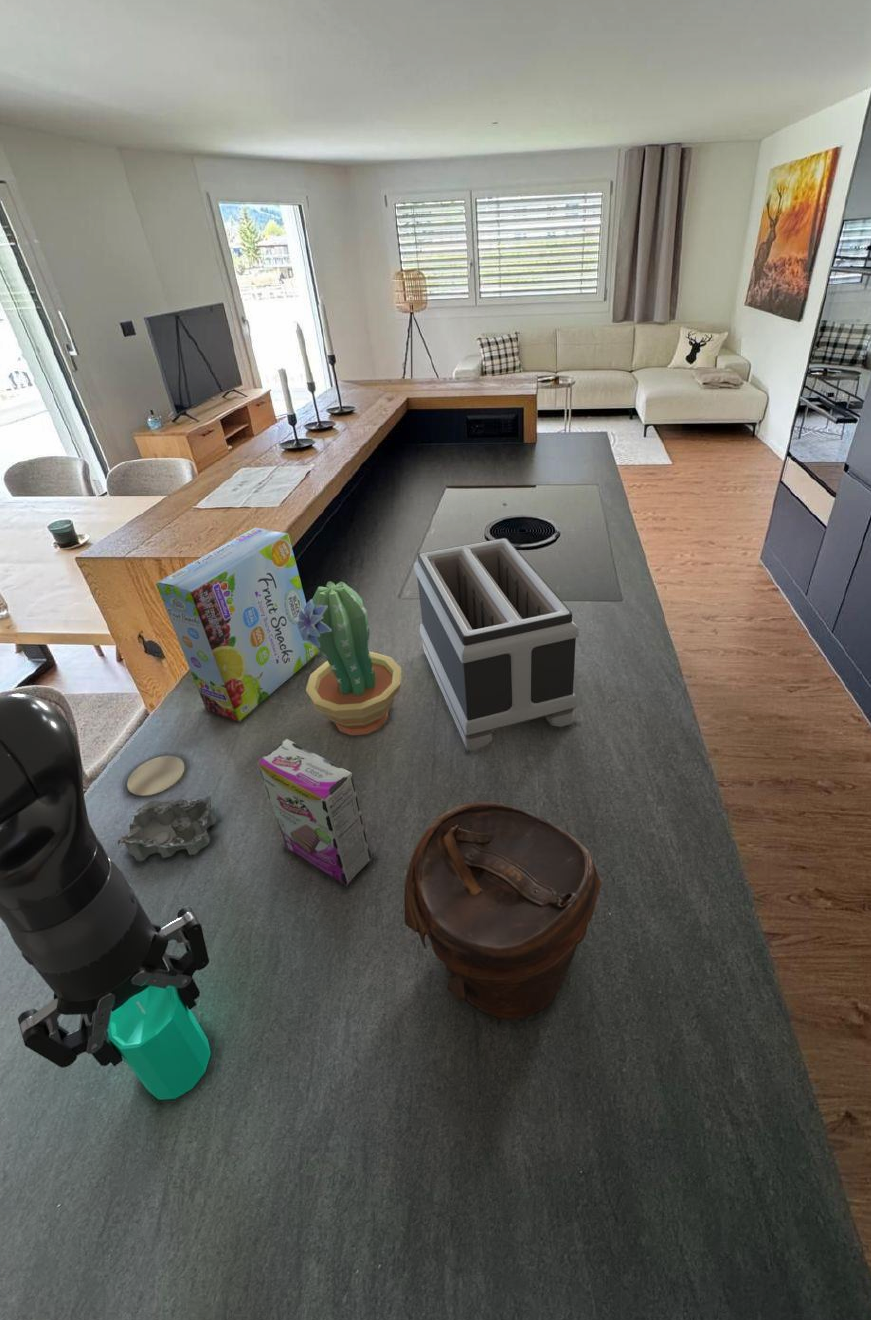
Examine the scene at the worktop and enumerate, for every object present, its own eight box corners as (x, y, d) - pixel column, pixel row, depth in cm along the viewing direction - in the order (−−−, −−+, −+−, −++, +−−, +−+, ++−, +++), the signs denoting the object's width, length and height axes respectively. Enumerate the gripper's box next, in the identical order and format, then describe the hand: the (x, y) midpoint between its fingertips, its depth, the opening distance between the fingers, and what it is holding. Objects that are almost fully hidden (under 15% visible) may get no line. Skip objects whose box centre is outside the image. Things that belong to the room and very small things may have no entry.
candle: (221, 1061, 61) (185, 999, 54) (161, 1116, 57) (114, 1056, 51) (194, 1017, 64) (157, 954, 58) (135, 1066, 61) (89, 1004, 54)
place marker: (116, 796, 91) (116, 795, 90) (143, 756, 97) (143, 755, 97) (169, 796, 90) (169, 795, 90) (193, 756, 97) (192, 755, 97)
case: (423, 883, 77) (407, 782, 67) (585, 884, 76) (593, 781, 66) (402, 1044, 62) (378, 944, 52) (604, 1047, 61) (618, 946, 51)
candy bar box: (284, 850, 81) (254, 761, 73) (311, 823, 85) (286, 735, 76) (346, 890, 76) (322, 799, 67) (373, 859, 80) (353, 770, 71)
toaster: (504, 620, 127) (501, 525, 115) (576, 726, 99) (582, 616, 88) (417, 638, 122) (405, 542, 111) (467, 755, 95) (458, 643, 83)
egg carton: (123, 864, 81) (111, 843, 78) (146, 817, 87) (135, 797, 85) (205, 857, 81) (196, 836, 79) (222, 811, 87) (214, 791, 85)
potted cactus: (311, 699, 108) (279, 573, 94) (398, 679, 111) (380, 555, 98) (319, 759, 95) (284, 624, 82) (416, 735, 99) (399, 601, 85)
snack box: (286, 644, 122) (255, 524, 109) (321, 654, 119) (293, 532, 105) (201, 710, 106) (151, 580, 92) (238, 724, 103) (193, 590, 89)
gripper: (160, 838, 54) (213, 944, 63) (-38, 952, 46) (56, 1055, 55) (193, 893, 49) (245, 1000, 58) (-21, 1031, 41) (79, 1130, 50)
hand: (153, 1026), depth 57 cm, fingers closed on candle, 6 cm apart
